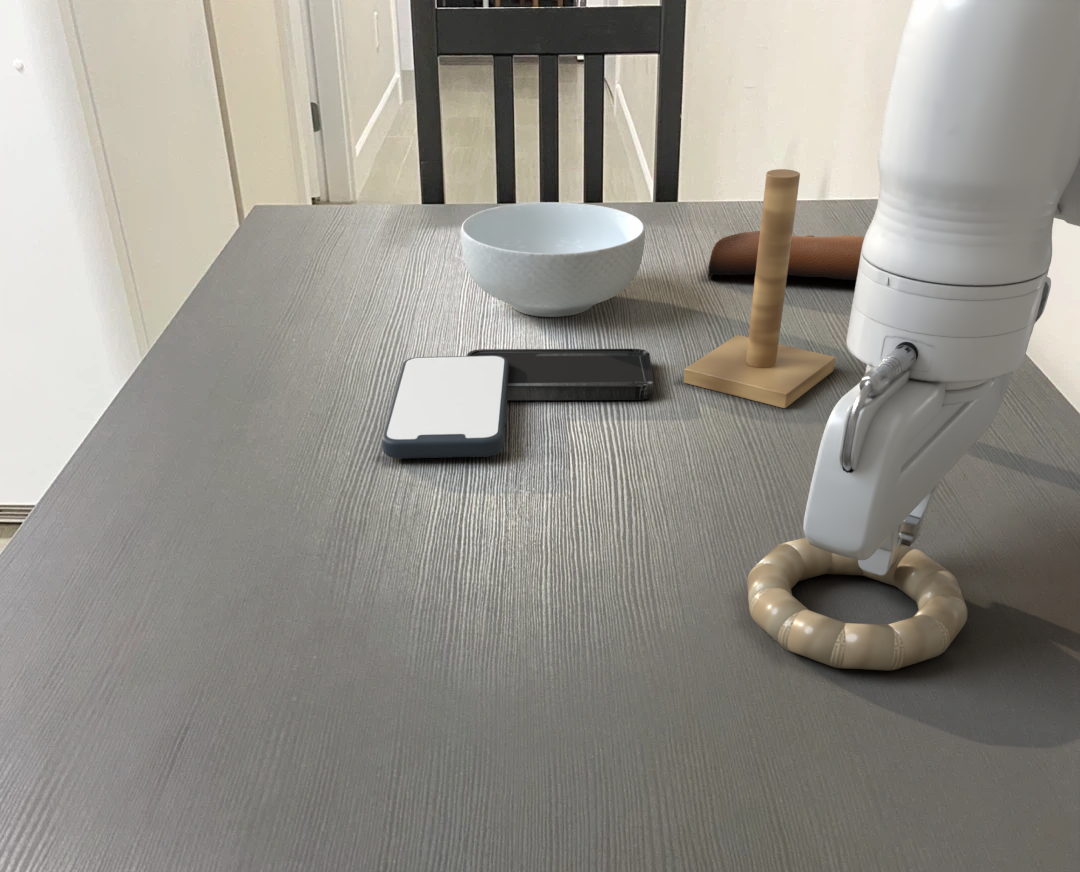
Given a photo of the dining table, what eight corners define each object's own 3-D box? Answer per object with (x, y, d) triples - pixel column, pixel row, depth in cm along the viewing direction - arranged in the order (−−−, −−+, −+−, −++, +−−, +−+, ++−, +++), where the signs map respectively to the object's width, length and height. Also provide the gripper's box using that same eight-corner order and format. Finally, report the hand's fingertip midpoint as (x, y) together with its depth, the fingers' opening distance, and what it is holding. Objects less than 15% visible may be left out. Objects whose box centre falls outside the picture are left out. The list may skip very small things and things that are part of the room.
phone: (654, 386, 84) (460, 386, 85) (653, 400, 85) (461, 400, 85) (648, 348, 90) (468, 348, 91) (647, 361, 91) (469, 361, 91)
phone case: (404, 375, 90) (380, 463, 77) (402, 355, 89) (377, 442, 76) (511, 372, 89) (504, 461, 77) (510, 353, 88) (503, 439, 76)
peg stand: (833, 371, 89) (867, 168, 80) (785, 409, 84) (814, 196, 74) (735, 348, 93) (755, 152, 84) (683, 382, 88) (698, 177, 78)
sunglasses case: (897, 262, 109) (909, 210, 103) (890, 319, 107) (901, 269, 100) (716, 251, 112) (717, 200, 106) (706, 306, 110) (707, 257, 104)
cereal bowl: (633, 340, 95) (636, 255, 90) (447, 331, 97) (441, 249, 93) (648, 277, 108) (652, 200, 103) (484, 271, 110) (481, 196, 106)
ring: (988, 600, 63) (998, 565, 61) (912, 706, 56) (922, 668, 54) (800, 541, 68) (805, 507, 67) (708, 630, 61) (712, 594, 60)
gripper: (926, 402, 47) (869, 659, 56) (1061, 274, 60) (997, 500, 69) (792, 370, 50) (758, 619, 59) (948, 254, 63) (901, 474, 72)
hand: (888, 554), depth 64 cm, fingers closed on ring, 2 cm apart
